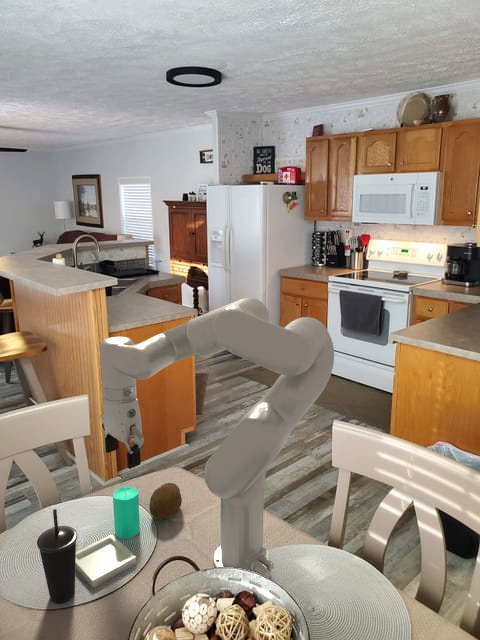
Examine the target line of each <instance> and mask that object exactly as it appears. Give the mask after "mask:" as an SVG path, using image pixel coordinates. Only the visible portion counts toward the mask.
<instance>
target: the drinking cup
mask: <svg viewBox="0 0 480 640" xmlns="http://www.w3.org/2000/svg"><path fill="white" fill-rule="evenodd" d="M57 511H58V509H56V508H53V509H52V515H53V526H54V527H50V528H48V529H47V530H45V531H43V532H42V533H41V534H40V535H39V536H38V538H37V540H36V546H37V548H38V550H39V555H40V558H41V564H42V568H43V571H44V576H45V580H46V585H47V589H48V594H49V599H50V601H51V602H52V603H53V604H57V605H61V604H65V603H67V602H70V601H71V600H72V599H73V598H74V596H75V594H76V568H75V562H76V552H77V539H78V532H77V529H75V528H73V527H71V526H68V525H59V522H58V512H57Z"/></svg>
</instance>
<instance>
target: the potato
mask: <svg viewBox="0 0 480 640" xmlns="http://www.w3.org/2000/svg"><path fill="white" fill-rule="evenodd" d="M182 500H183V499H182V494H181V490H180V488H179V486H178V485H177V484H176V483H174V482H166V483H164V484H162V485H160V486H159V487H157V488H156V489H155V490H154V491H153V493H152V495H151V496H150V499H149V513H150V515H151V516H152V517H153V519H155V520H166V519H168V518H171V517H172V516H174V515H175V514H176V513H177V512H178V511H179V510H180V508H181V506H182V503H183V501H182Z"/></svg>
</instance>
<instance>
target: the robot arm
mask: <svg viewBox="0 0 480 640" xmlns="http://www.w3.org/2000/svg"><path fill="white" fill-rule="evenodd" d="M99 347H100V349H99V351H100V365H101V366H100V368H101V371H100V372H101V384H102V399H103V405H102V414H100V419H101V423H102V425H101V427H102V429H103V436H104V444H105V445H104V447H105V449H104V450H105V453H107V454H109V453H112V452H114V451H118V450H119V441H120V442H121V443H123V444H125V446H126V448H127V452H126V460H127V461H126V462H127V463H126V464H127V469H129V470H131V469H133V468H135V467H138V466H141V463H142V462H141V451H142V448H143V447H144V442H145V436H143V425H142V417H141V410H140V409H141V408H140V404H139V400H138V398H137V397H138V395H137V394H138V393H137V380H147V379H150V378H151V377H153V376H155V375H156V374H157V373H159V372H160V371H161V370H163V369H165V368H166V367H168V366H170V365H172V364H174V363H177V362H179V361H182V360H184V359H187V358H189V357H192V356H195V355H198V356H200V357H202V358H208V357H212V356H214V355H216V354H218V353H221V352H224V351H228V352H230V353H232V355H233V354H234V355H235V356H237V357H240V358H242V359H244V360H246V361H248V362H251V363H254V364H255V365H258V366H260V367H262V368H265V369H267V370H269V371H271V372H274V373H276V374H279V377H277V379H276V380H275V382H274V384H273V385H271V387H270V388H269V389H268V391H266V392H265V394H264V396H262V398H261V399H260V400H259V401H258V402H257V403H255V404H254V405H253V406H252V407H251V408H249V410H248V411H247V413H245V415H244V416H243V417H242V418H241V419H240V420H239V421H238V422H237V424H236V425H235V427H234V428H233V429H232V430H231V431H230V433H229V434H228V435H227V436H226V438H224V440H223V441H222V442H221V444H220V445H219V447H218V448H217V449H216V450H215V451H214V452H213V454H212V455H211V456H210V457H209V458H208V460H207V461H206V463H205V466H204V467H205V468H204V473H203V475H204V481H205V483H206V487H207V488H208V489H209V491H210V493H212V494H213V495H214V496H216V497H217V498H220V500H219V503H220V505H219V506H220V512H219V513H220V545H219V546H218V547H217V548H216V550H215V551H214V554H213V565H214V568H215V567H233V568H242V569H246V570H250V571H254V572H257V573H259V574H261V575H263V576H265V577H268V579H269V578H270V577H271V575H272V574H271V573H272V572H271V570H272V569H273V568H274V566H275V565H274V562H272V561H271V560H270V559H269V560H267V558H266V557H269V558H270V555H269V556H266V555H268V554H269V552H268V550H267V548H266V547H265V546H264V511H265V509H264V507H265V505H264V503H265V484H266V474H267V468H269V467H270V465H271V464H272V463H273V462H274V461H275V460H276V458H277V457H278V455H279V454H280V452H281V450H282V449H283V448H284V445H285V444H286V442H287V441H288V439H289V437H290V435H291V433H292V431H293V429H294V428H295V426H296V425H298V423H299V421H300V420H301V419H302V418H303V417H304V416H305V415H306V414H307V412H308V411H309V410H310V408H311V407H312V406H313V404H315V402H316V401H317V399H319V397H320V396H321V394H322V393H323V392H324V389H325V388H326V387H327V385H328V382H329V380H330V378H331V375H332V372H333V369H334V362H335V347H334V343H333V340H332V336H331V334H330V332H329V331H328V328H326V326H325V325H324V323H322V322H321V320H320V321H319V320H318V319H317V318H313V317H310V316H302V317H299V318H296V319H295V320H292V321H290V322H289V323H288V324H287V325H285V326H284V327H283V326H280V325H279V324H276V323H273V322H271V316H270V311H269V309H268V308H267V306H266V304H265V303H264V302H262V301H261V300H259V299H258V298H254V297H244V298H241V299H238V300H236V301H234V302H230V303H228V304H226V305H224V306H221V307H218V308H216V309H213V310H211V311H209V312H207V313H204V314H200V315H199V316H197V317H194V318H192V319H190V320H188V321H187V322H184V323H182V324H180V325H177V326H176V327H173V328H171V329H168V330H166V331H165V330H164V331H163V332H160V333H158V334H156V335H153V336H152V337H150V338H147V339H145V340H143V341H141V342H140V343H136V344H135V342H134V340H133V339H131V338H130V337H127V336H112V337H108V338H105V339H103V340H102V341H101V343H100V346H99ZM130 437H131V438H130ZM131 442H134V445H132V444H131ZM266 553H267V554H266ZM263 564H264V565H265V566H266V567H268V568H265V567H264V566H262V565H263Z"/></svg>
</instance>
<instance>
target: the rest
mask: <svg viewBox="0 0 480 640" xmlns="http://www.w3.org/2000/svg"><path fill="white" fill-rule="evenodd" d="M136 564H137V556H136V555H135V554H134V553H133V552H131V550H129V549H128V547H126V546H125V545H124V544H123V543H122V542H121V541H119V539H117V538H116V537H115V536H114V535H113V534H109V535H107V536H106V537H103V538H101V539H99V540H97V541H95V542H93V543H91V544H89V545H87V546H85V547H83V548H81V549H78V551H77V550H76V562H75V570H76V571H77V572H78V573H79V574H80V575H81V576H82V577H83V578H84V580H85V581H86V582H87V583H88V584H89V585H90V586H91V587H92V589H93V588H96V587H98V586H100V585H101V584H103V583H105V582H106V581H108V580H110V579H112V578H114V577H115V576H117V575H118V574H121V573H122V572H124V571H126V570H128V569H129V568H131V567H133V566H134V565H136Z"/></svg>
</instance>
